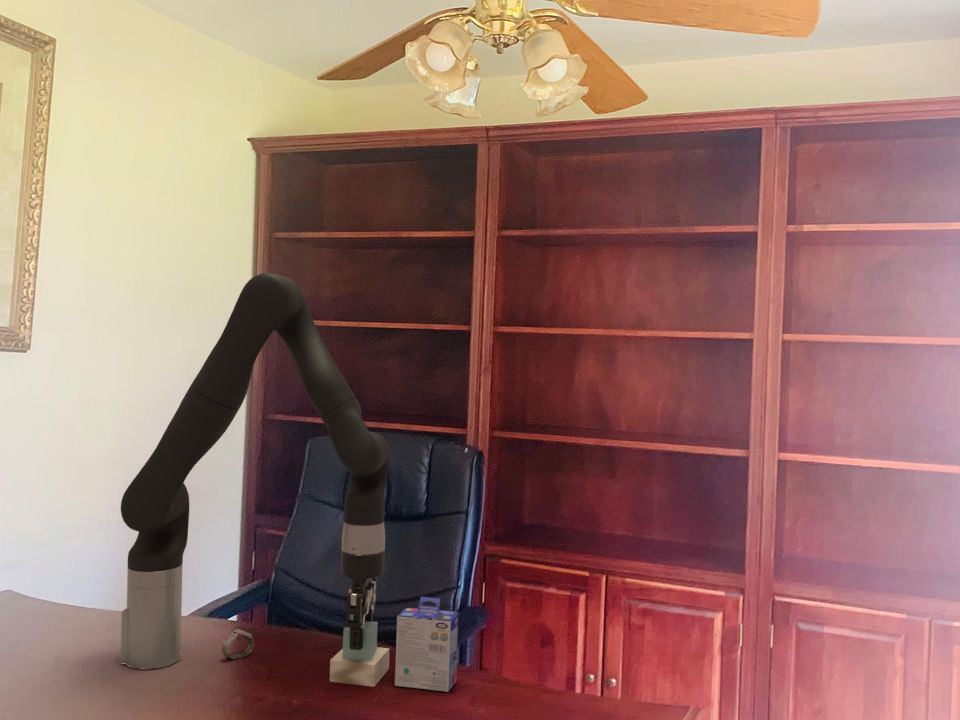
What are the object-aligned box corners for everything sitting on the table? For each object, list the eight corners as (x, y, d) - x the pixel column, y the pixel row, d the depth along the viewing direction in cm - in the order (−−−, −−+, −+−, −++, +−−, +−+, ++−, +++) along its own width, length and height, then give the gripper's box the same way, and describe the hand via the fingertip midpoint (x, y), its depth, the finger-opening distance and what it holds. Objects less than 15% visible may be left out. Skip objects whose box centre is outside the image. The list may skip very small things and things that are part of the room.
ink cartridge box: (457, 680, 143) (460, 597, 143) (450, 693, 138) (452, 607, 137) (403, 674, 145) (405, 592, 145) (393, 687, 140) (396, 602, 139)
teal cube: (342, 658, 142) (343, 630, 142) (349, 648, 147) (349, 620, 147) (371, 660, 141) (372, 631, 141) (376, 649, 146) (377, 622, 146)
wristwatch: (257, 654, 152) (257, 627, 152) (229, 664, 147) (229, 636, 147) (244, 649, 154) (245, 623, 154) (217, 659, 149) (217, 632, 149)
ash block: (329, 683, 141) (330, 660, 141) (346, 665, 149) (347, 643, 149) (373, 688, 139) (374, 665, 139) (388, 670, 147) (389, 648, 147)
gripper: (351, 536, 151) (349, 626, 151) (331, 556, 137) (329, 655, 137) (391, 538, 151) (389, 628, 151) (376, 558, 136) (373, 658, 137)
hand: (360, 641), depth 144 cm, fingers open, 6 cm apart
